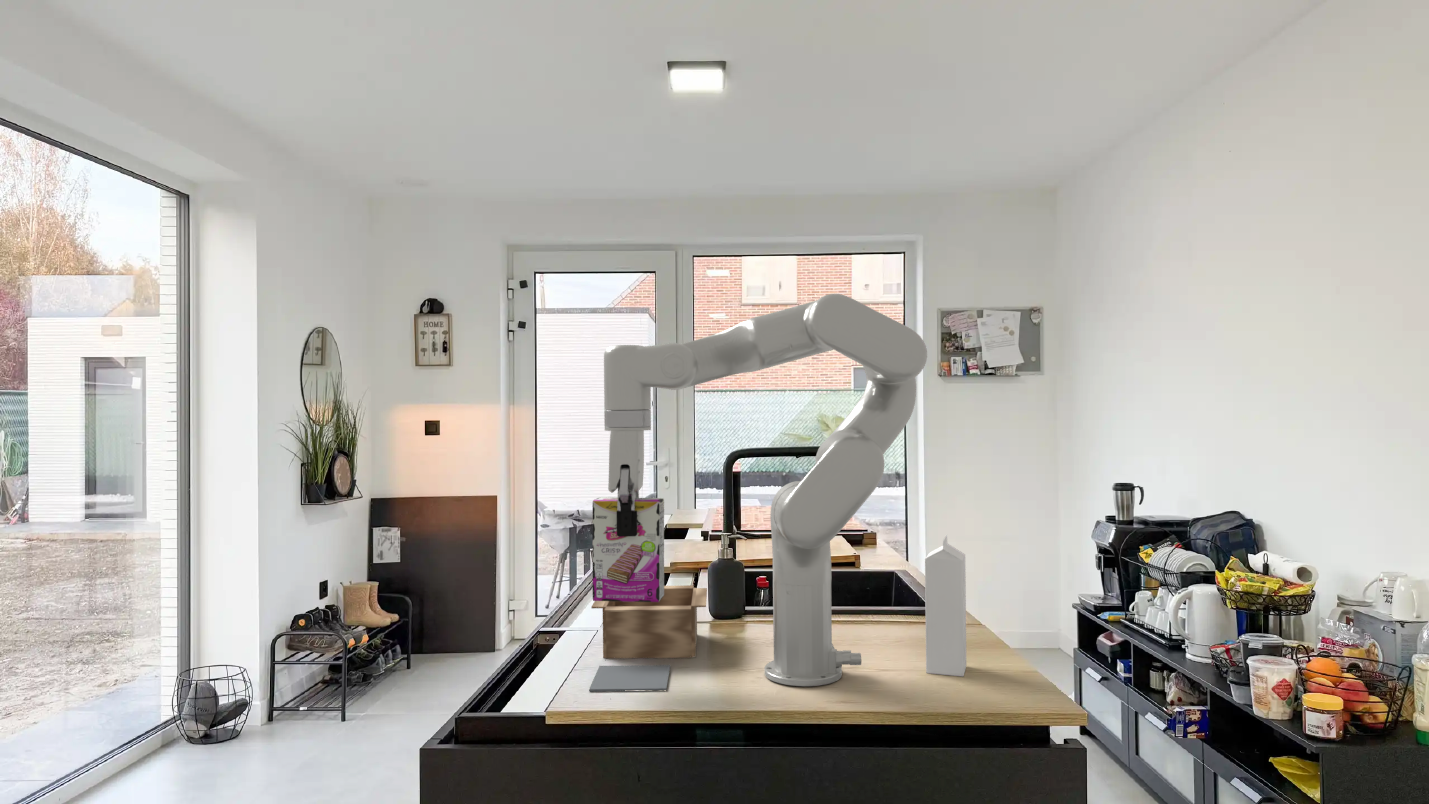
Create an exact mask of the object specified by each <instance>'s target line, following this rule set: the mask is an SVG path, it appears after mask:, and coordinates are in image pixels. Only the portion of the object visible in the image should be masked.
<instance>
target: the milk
mask: <svg viewBox="0 0 1429 804" xmlns="http://www.w3.org/2000/svg"><path fill="white" fill-rule="evenodd" d="M966 577H967V576H966V554H965V553H964V552H962V551H961V550H958V549H957V548H955V547H954V546H952V545H951V544H949V543H948V534H945V536H944V538H943V539H942V545H941V546H939V547H937V548H935V549H933V550H932V551H930V552H928V554H927V555H926V556H925V558H924V581H925V582H924V588H925V590H924V594H925V595H924V596H925V597H924V598H925V600H924V602H925V606H924V607H925V611H924V612H925V671H926V672H925V673H926V674H931V675H932V674H933V675H943V676H953V677H954V676H955V677H964V675H965V672H966V668H967V603H966V602H967V598H966V597H967V595H966V594H967V587H966V583H967V582H966Z"/></svg>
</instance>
